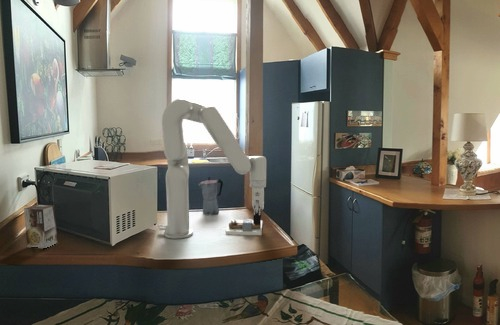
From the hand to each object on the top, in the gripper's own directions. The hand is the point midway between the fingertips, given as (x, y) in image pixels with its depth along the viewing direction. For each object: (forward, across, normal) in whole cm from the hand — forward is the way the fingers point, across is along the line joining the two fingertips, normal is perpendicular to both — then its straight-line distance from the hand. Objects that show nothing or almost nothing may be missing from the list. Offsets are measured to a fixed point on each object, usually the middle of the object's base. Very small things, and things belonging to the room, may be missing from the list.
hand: (257, 220), depth 157 cm
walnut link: (+3, 0, +6) cm, 7 cm away
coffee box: (+5, -25, +86) cm, 90 cm away
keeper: (+4, -1, +7) cm, 8 cm away
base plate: (+5, +4, +6) cm, 9 cm away
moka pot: (+5, +31, +27) cm, 41 cm away
